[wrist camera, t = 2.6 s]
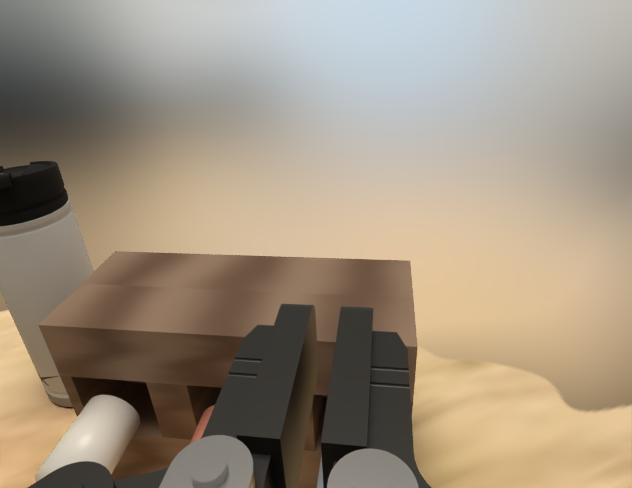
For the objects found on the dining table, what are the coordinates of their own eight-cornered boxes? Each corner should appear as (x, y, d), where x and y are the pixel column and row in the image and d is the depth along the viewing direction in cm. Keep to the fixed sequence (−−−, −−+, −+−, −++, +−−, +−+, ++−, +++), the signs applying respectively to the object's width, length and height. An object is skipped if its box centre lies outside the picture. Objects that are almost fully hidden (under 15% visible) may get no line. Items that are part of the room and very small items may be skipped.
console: (106, 486, 31) (38, 324, 24) (157, 396, 38) (115, 251, 31) (403, 519, 28) (417, 346, 22) (400, 415, 35) (410, 260, 29)
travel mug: (43, 421, 36) (-70, 187, 27) (53, 367, 42) (-38, 156, 32) (125, 397, 38) (48, 170, 29) (125, 348, 44) (59, 144, 34)
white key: (47, 503, 24) (26, 463, 22) (95, 430, 27) (80, 392, 26) (104, 510, 23) (86, 470, 22) (145, 435, 27) (132, 396, 26)
